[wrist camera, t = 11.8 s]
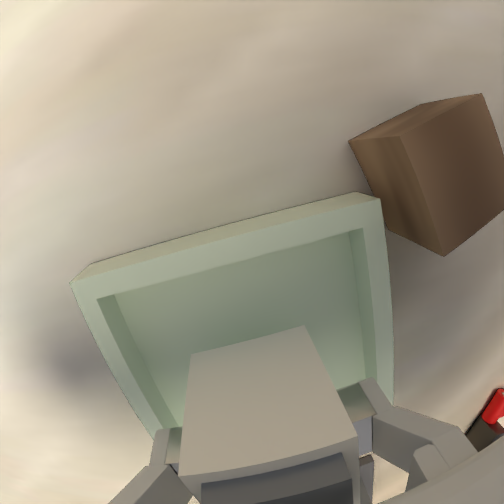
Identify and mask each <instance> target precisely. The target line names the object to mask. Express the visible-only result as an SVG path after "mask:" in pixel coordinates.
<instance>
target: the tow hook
mask: <svg viewBox="0 0 504 504" xmlns="http://www.w3.org/2000/svg"><path fill="white" fill-rule="evenodd" d="M503 416H504V389H498V390H497V392H496V393H495V395H494V397H493V398H492V400H491V401H490V403H489V404H488V406H487V408H486V409H485V411H484V412H483V413H482V414H481V415H480V416H479V417H478V419H477V420H476V422H475V423H474V424H473V426H472V427H471V429H470V430H469V431H468V433H467V434H466V437H467V439H468V440H469V441H470V442H471V444H472V445H473V446H474V448H475V449H476V450H477V452H480V451H481V450H483V449H485V448H486V447H488V446H489V445H491V444H492V443H493V442H495V441H496V440H498V439H499V438H501V437H502V436H503V435H504V428H503V427H502V426H501V425H500V424H499V423H498V421H497V420H498V418H500V417H503Z"/></svg>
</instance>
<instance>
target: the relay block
mask: <svg viewBox="0 0 504 504" xmlns="http://www.w3.org/2000/svg"><path fill="white" fill-rule="evenodd" d="M178 477H179V478H180V480H181V481H182V482H183V483H184V485H185V486H186V487H187V488H188V489H189V491H190V492H191V493H192V494H193V495H194V497H195V498H196V499H197V500H198V501H199V503H200V504H360V468H359V445H358V435H357V433H356V431H355V428H354V426H353V424H352V422H351V420H350V418H349V416H348V414H347V412H346V410H345V408H344V405H343V403H342V401H341V399H340V397H339V395H338V393H337V391H336V389H335V387H334V385H333V383H332V381H331V378H330V376H329V374H328V372H327V370H326V368H325V366H324V364H323V362H322V360H321V358H320V356H319V354H318V352H317V350H316V348H315V346H314V344H313V342H312V339H311V337H310V335H309V333H308V331H307V329H306V327H305V325H302V326H299V327H295V328H292V329H288V330H285V331H281V332H278V333H274V334H270V335H267V336H263V337H259V338H255V339H252V340H248V341H244V342H240V343H236V344H232V345H228V346H224V347H220V348H216V349H211V350H207V351H203V352H198V353H194V354H191V358H190V366H189V374H188V382H187V391H186V399H185V408H184V418H183V427H182V437H181V447H180V458H179V470H178Z"/></svg>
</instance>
